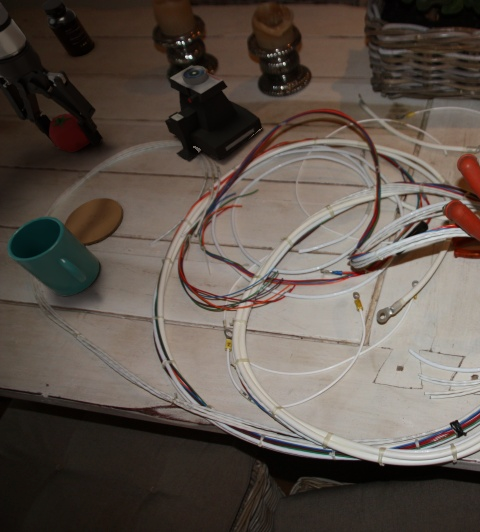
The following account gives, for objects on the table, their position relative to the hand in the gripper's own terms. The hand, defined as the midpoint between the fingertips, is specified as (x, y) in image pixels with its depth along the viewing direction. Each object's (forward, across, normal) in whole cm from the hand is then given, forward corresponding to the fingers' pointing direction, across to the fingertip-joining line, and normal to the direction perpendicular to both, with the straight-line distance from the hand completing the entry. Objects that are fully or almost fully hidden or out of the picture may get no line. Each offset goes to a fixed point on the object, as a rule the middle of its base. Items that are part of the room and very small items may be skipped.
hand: (79, 142), depth 116 cm
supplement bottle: (+1, -16, +35) cm, 38 cm away
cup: (+1, +15, -34) cm, 37 cm away
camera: (+1, +29, +2) cm, 29 cm away
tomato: (0, 0, 0) cm, 1 cm away
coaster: (+1, +12, -21) cm, 24 cm away
